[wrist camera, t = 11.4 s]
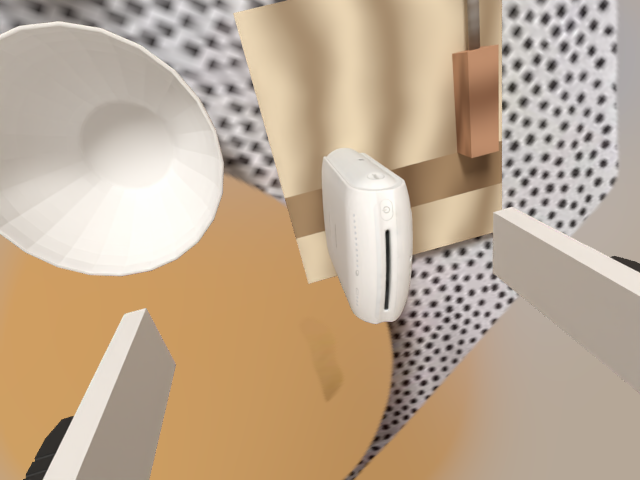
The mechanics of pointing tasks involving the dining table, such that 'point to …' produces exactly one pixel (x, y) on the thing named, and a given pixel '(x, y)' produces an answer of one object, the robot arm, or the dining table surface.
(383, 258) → the photo printer
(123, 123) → the bowl
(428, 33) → the light wooden cutting board
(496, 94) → the awl
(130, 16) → the dining table surface
